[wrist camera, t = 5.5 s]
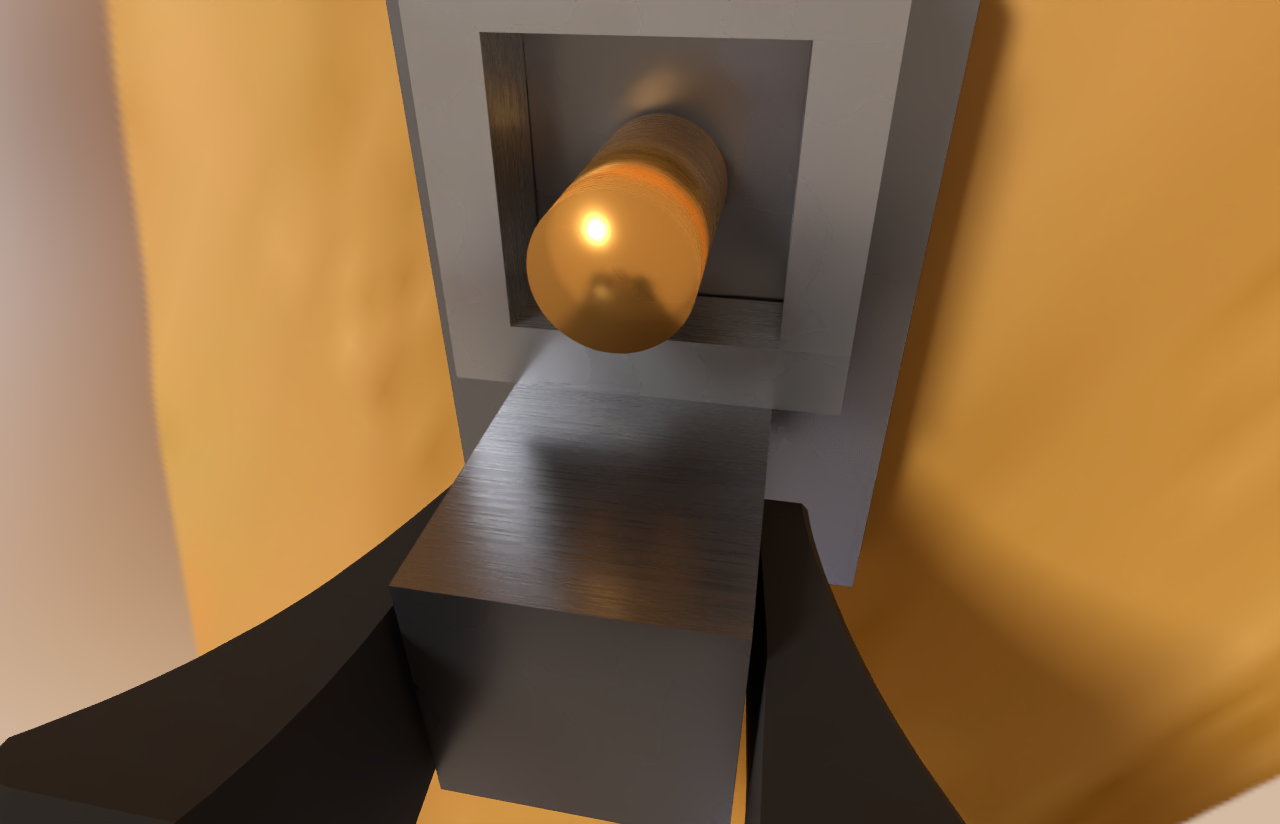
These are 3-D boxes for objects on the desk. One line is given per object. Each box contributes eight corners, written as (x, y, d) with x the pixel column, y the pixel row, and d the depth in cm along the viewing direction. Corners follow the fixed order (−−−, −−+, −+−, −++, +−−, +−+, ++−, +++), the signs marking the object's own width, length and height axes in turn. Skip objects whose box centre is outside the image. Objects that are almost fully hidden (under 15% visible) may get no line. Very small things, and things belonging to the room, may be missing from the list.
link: (808, 542, 15) (805, 859, 10) (513, 504, 16) (374, 776, 11) (907, -68, 9) (1013, -43, 4) (443, -69, 10) (93, -50, 5)
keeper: (850, 552, 16) (859, 744, 13) (492, 506, 17) (407, 668, 14) (976, -52, 10) (1068, -21, 6) (408, -56, 11) (213, -31, 8)
